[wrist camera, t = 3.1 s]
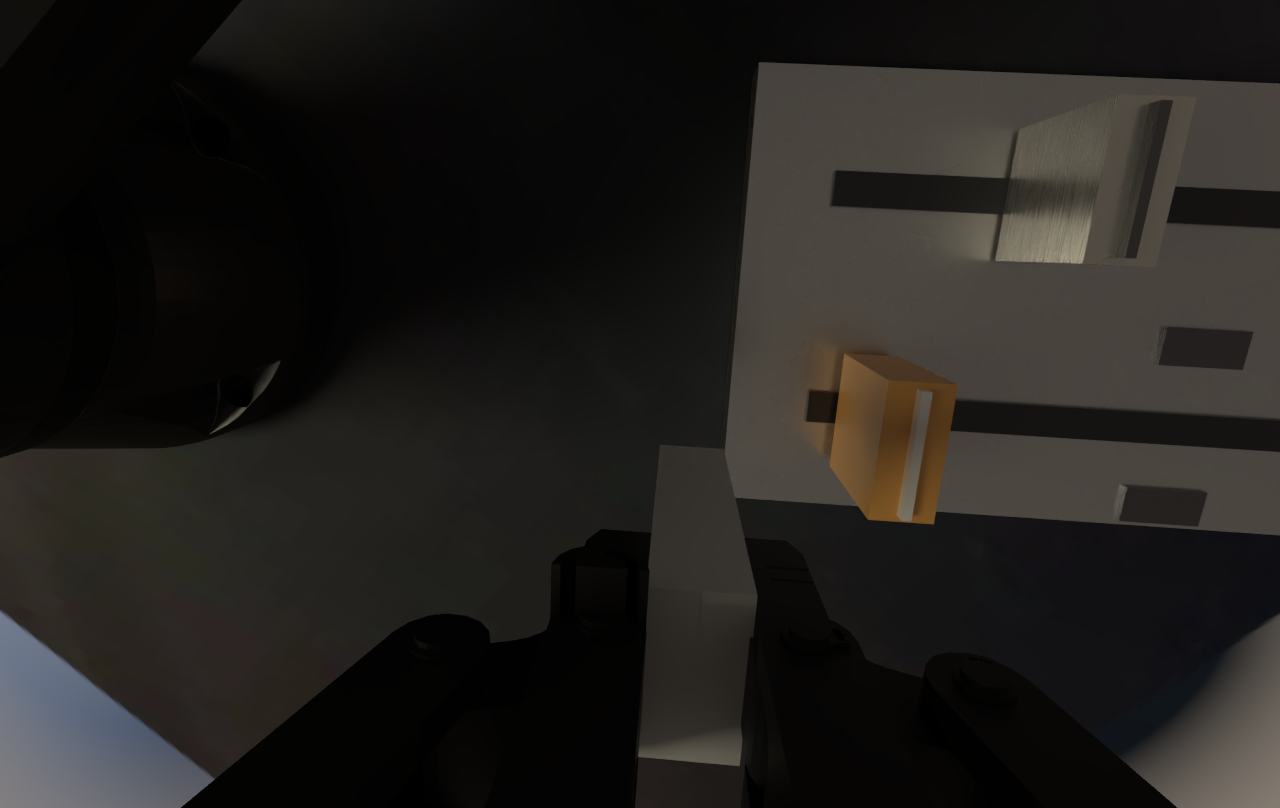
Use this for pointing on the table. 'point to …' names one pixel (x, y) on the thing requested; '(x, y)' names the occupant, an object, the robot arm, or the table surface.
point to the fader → (892, 436)
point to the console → (1017, 286)
